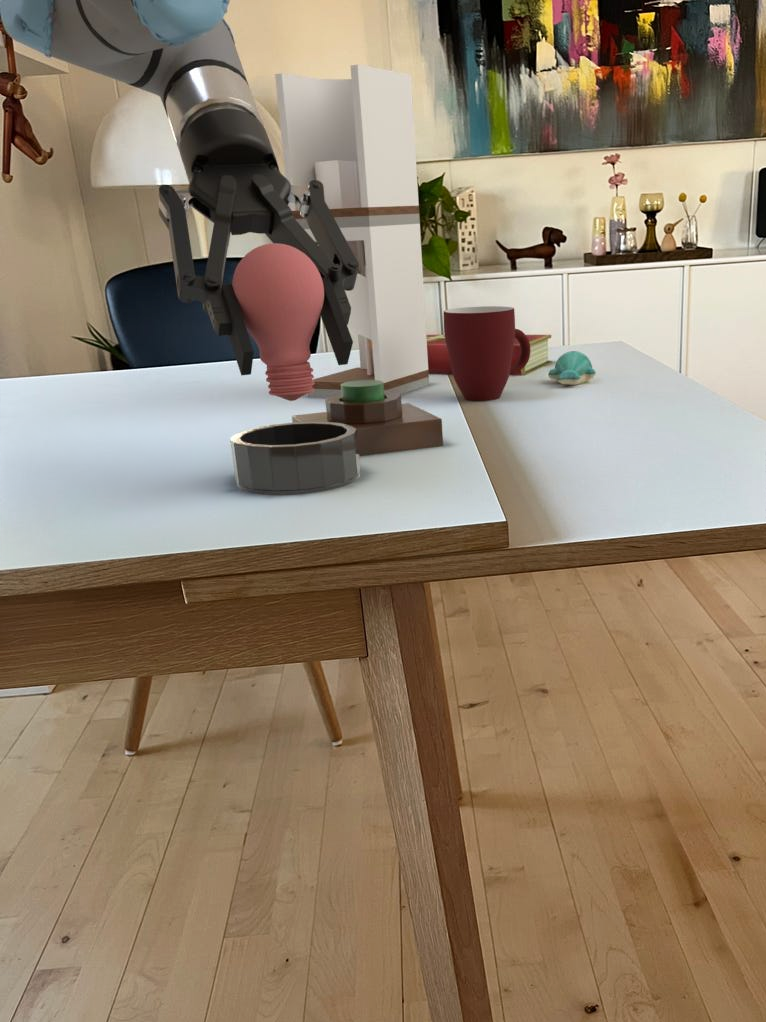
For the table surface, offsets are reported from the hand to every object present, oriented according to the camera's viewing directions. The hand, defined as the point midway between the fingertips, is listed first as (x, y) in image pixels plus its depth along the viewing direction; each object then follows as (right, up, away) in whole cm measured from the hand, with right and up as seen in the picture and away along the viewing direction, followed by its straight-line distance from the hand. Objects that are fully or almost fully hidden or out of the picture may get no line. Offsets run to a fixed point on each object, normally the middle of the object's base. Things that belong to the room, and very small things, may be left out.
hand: (297, 358), depth 81 cm
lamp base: (+3, -3, +19) cm, 20 cm away
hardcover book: (+12, +16, +64) cm, 67 cm away
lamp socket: (-1, -8, +7) cm, 11 cm away
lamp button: (+3, +1, +18) cm, 18 cm away
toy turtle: (+25, +9, +48) cm, 55 cm away
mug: (+15, +6, +41) cm, 45 cm away
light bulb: (-1, -2, +4) cm, 5 cm away
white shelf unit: (0, +9, +49) cm, 50 cm away
